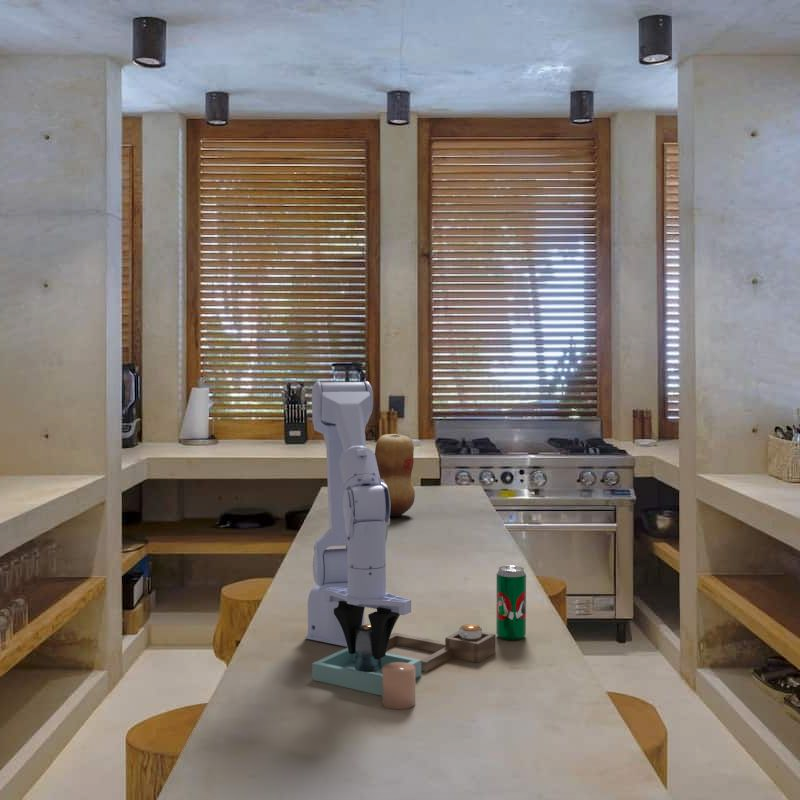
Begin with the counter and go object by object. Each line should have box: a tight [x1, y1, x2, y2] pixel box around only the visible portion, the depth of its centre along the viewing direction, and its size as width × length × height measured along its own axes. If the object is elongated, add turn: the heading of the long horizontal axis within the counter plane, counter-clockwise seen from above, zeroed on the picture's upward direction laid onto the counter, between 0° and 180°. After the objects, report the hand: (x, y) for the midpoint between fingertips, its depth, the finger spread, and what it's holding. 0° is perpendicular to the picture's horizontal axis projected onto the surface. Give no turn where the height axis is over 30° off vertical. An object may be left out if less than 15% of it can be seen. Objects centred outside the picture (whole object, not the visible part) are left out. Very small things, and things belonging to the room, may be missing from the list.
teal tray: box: [311, 647, 422, 697], centre depth 139 cm, size 13×10×2 cm
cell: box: [355, 623, 381, 672], centre depth 139 cm, size 4×4×6 cm
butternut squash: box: [374, 433, 416, 518], centre depth 280 cm, size 14×13×25 cm
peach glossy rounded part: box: [382, 662, 416, 710], centre depth 129 cm, size 5×5×5 cm
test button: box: [458, 623, 483, 642], centre depth 150 cm, size 4×4×3 cm
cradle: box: [387, 632, 453, 673], centre depth 149 cm, size 12×10×2 cm
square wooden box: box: [444, 630, 497, 664], centre depth 150 cm, size 6×6×3 cm
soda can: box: [495, 565, 527, 642], centre depth 159 cm, size 5×5×12 cm
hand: (367, 654), depth 139 cm, fingers closed on cell, 4 cm apart
